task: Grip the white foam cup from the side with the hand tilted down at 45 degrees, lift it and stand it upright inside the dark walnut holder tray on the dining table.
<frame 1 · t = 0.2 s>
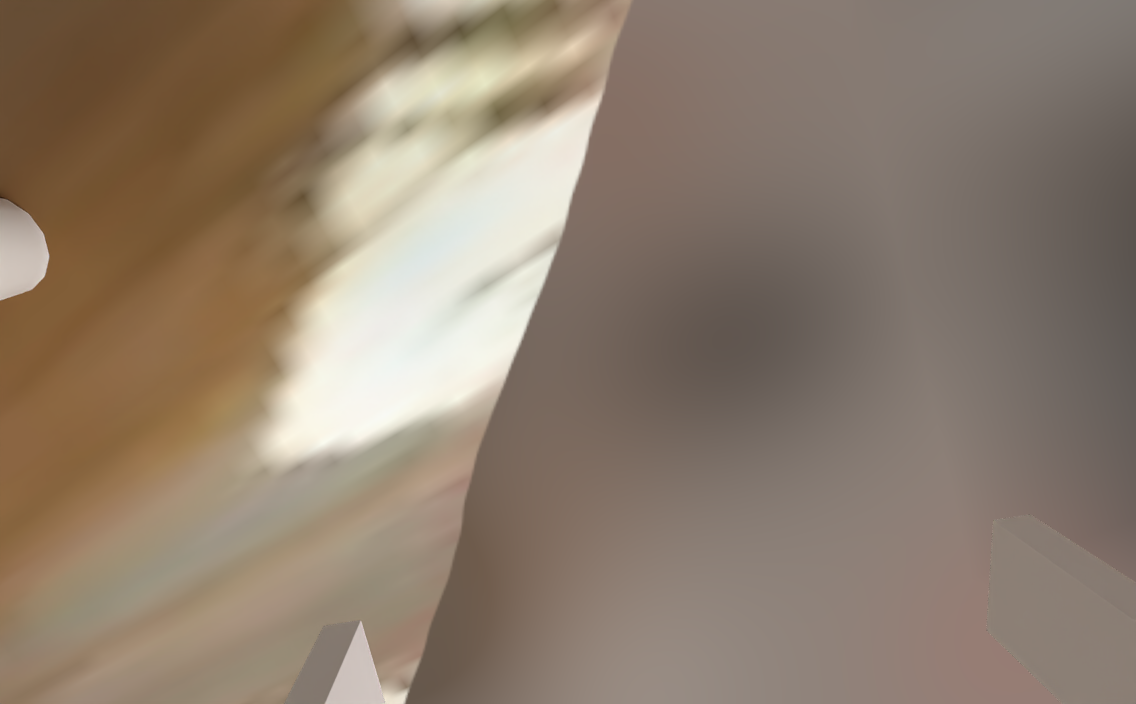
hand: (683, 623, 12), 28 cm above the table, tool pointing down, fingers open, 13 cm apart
foam cup: (0, 245, 36), on the table
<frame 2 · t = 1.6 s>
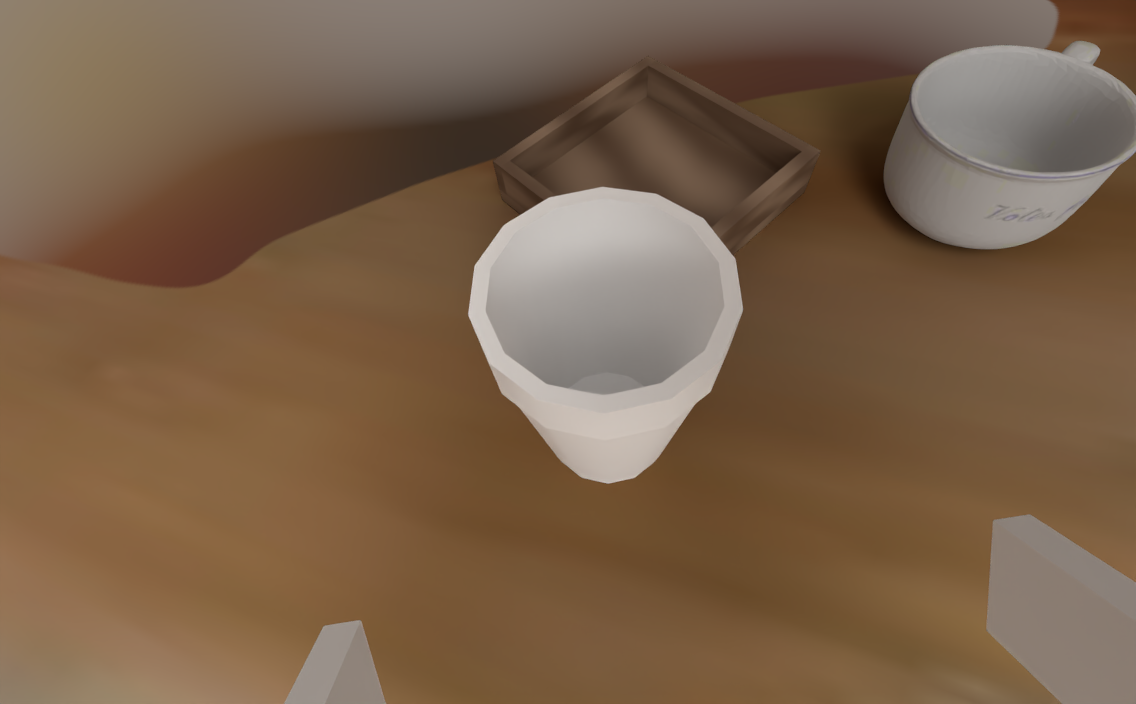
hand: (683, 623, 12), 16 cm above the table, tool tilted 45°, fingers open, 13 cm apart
teacup: (964, 199, 37), on the table
foam cup: (607, 427, 31), on the table
holder: (649, 196, 39), on the table
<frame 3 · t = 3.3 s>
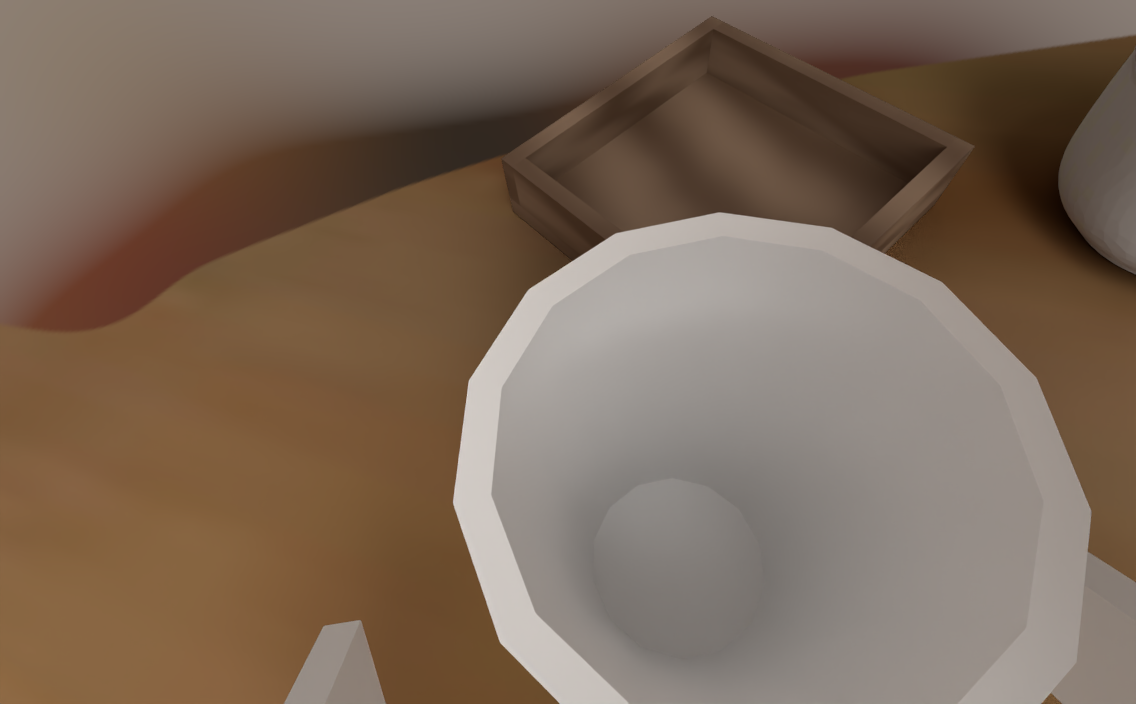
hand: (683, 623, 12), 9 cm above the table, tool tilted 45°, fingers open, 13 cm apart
foam cup: (674, 565, 20), on the table
holder: (717, 208, 28), on the table
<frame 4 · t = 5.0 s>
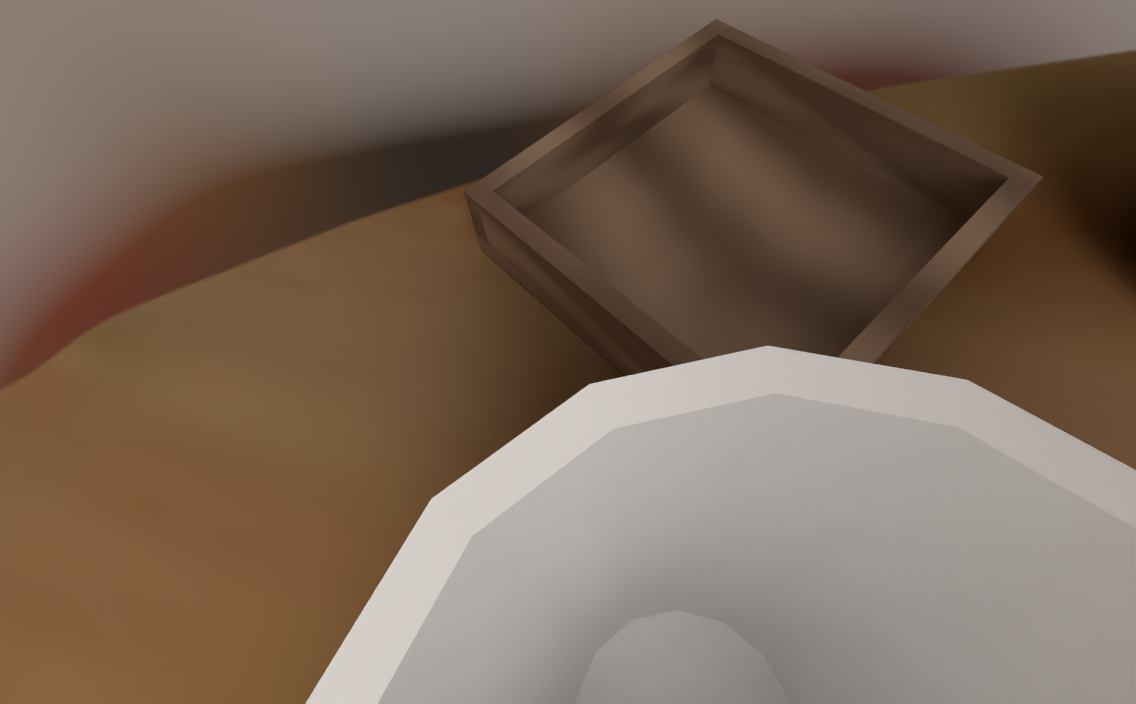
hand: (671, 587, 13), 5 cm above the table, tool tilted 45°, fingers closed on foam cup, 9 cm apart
holder: (725, 247, 24), on the table
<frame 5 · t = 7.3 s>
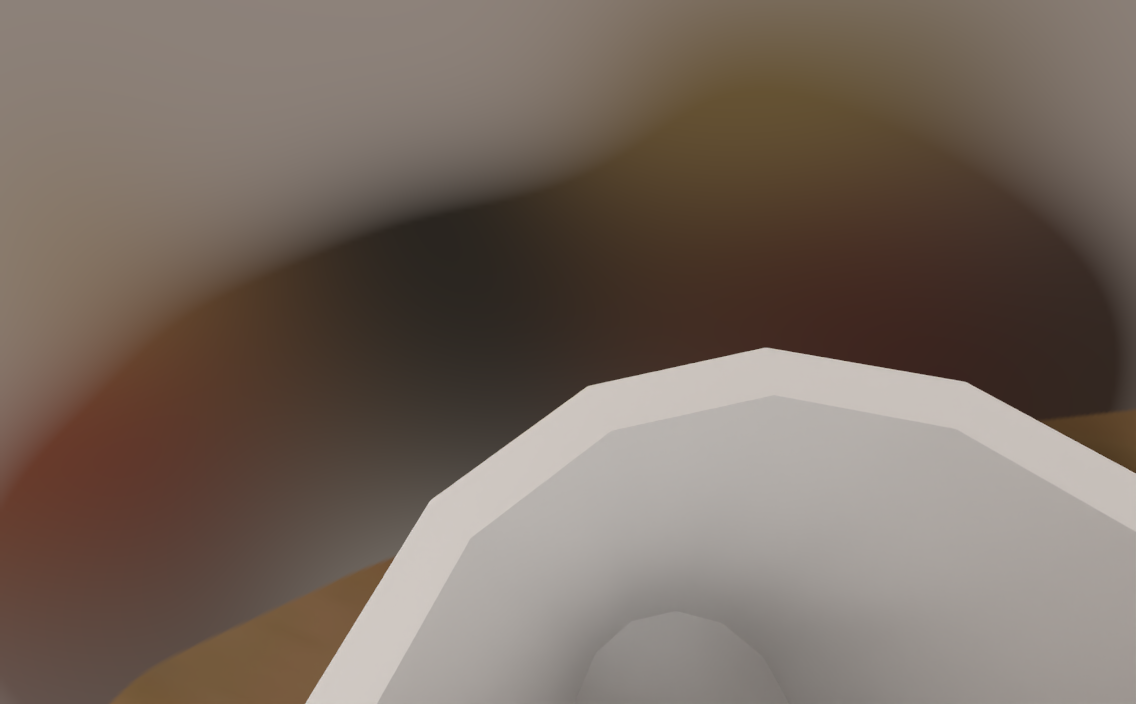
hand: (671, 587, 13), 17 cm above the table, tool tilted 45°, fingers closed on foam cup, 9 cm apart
when the fingers open (7 cm above the table, at t = 10.1 s): foam cup drops 1 cm, resting on holder.
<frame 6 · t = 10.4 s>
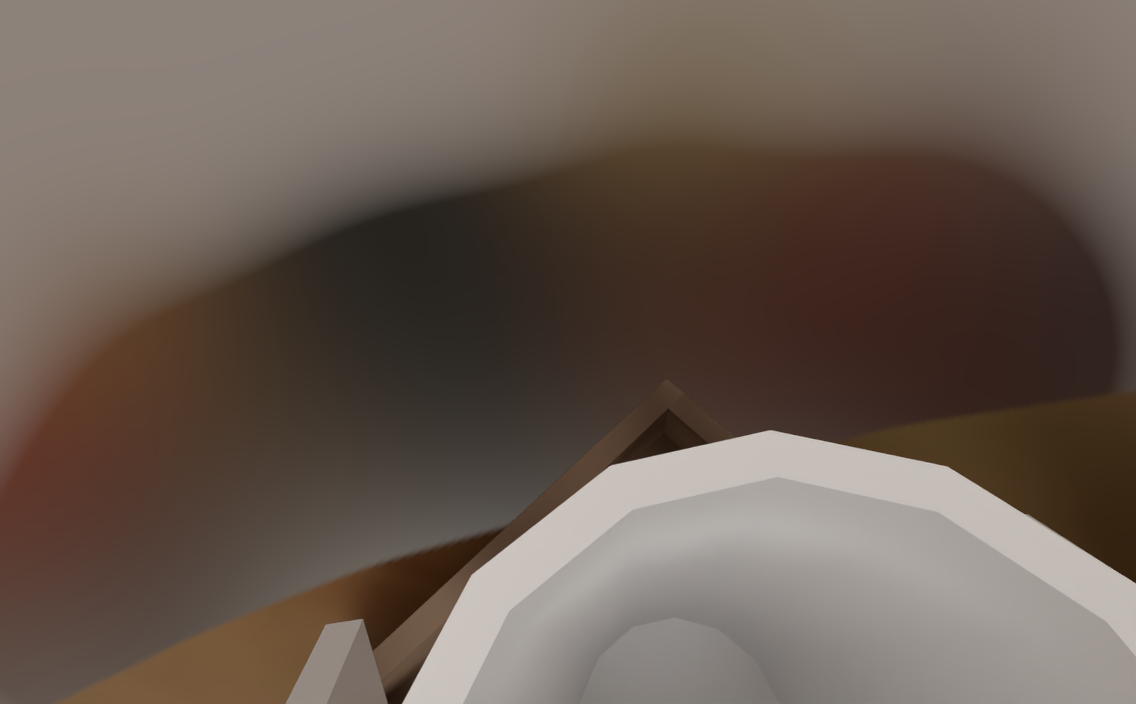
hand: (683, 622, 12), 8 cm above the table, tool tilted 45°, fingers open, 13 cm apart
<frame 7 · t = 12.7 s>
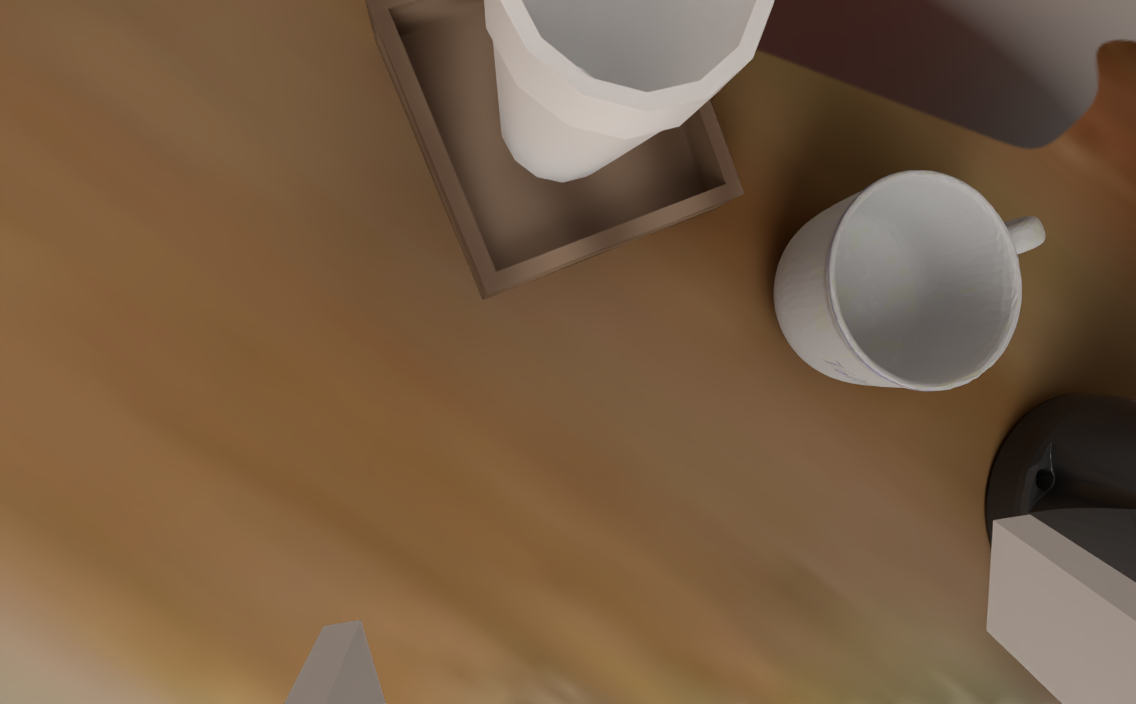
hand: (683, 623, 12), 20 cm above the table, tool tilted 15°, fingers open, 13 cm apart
teacup: (846, 290, 35), on the table
foam cup: (557, 124, 30), point 1 cm above the table, touching holder
holder: (554, 128, 31), on the table
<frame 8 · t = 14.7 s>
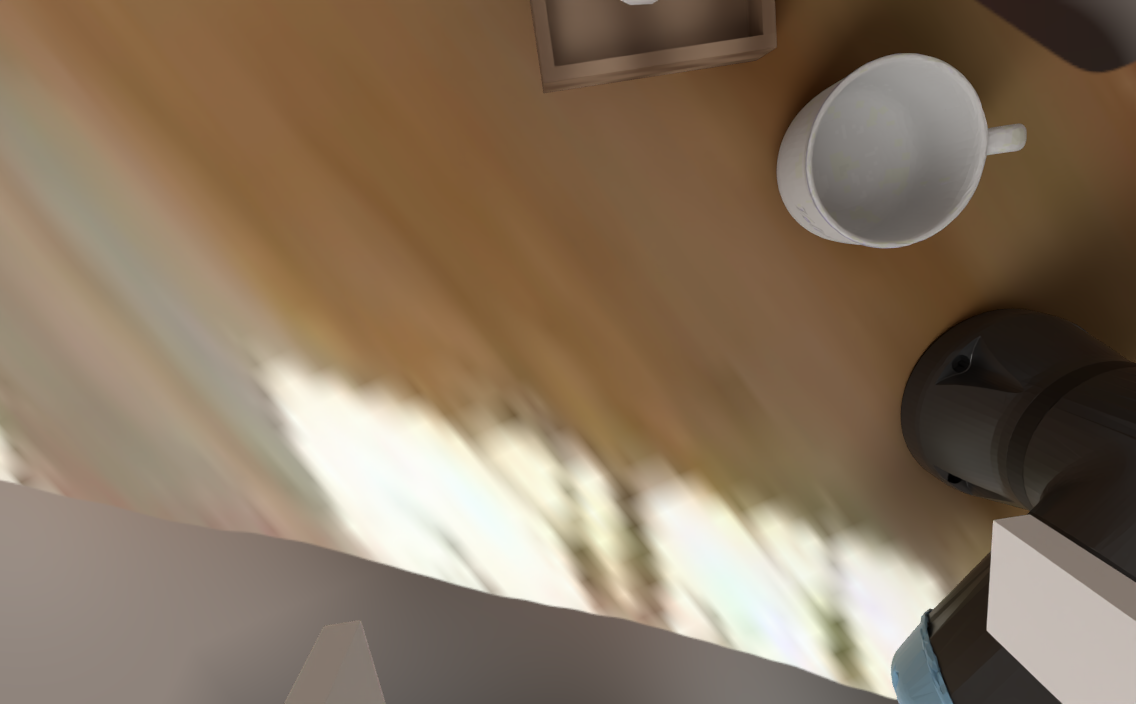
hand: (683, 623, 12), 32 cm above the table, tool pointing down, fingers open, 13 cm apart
teacup: (852, 163, 40), on the table
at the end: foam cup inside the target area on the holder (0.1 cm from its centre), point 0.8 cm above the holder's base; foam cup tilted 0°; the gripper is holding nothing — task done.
